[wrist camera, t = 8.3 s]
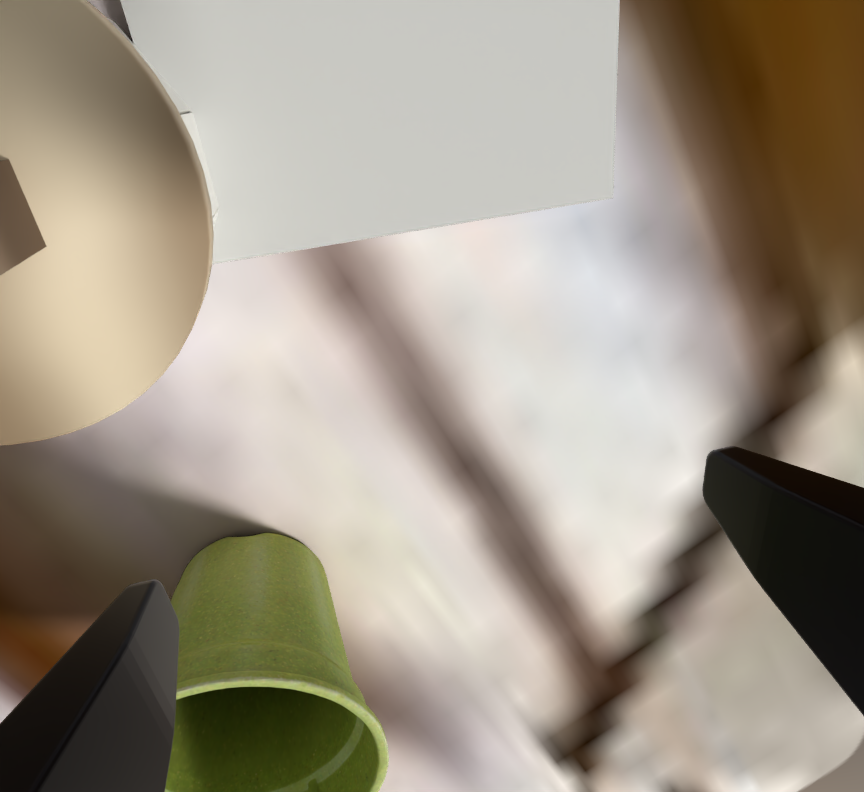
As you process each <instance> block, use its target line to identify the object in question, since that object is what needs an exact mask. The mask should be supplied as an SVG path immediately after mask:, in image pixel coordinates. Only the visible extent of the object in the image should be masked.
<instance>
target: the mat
mask: <svg viewBox="0 0 864 792" xmlns="http://www.w3.org/2000/svg"><path fill="white" fill-rule="evenodd" d="M120 1H121V4H122V8H123V11H124V14H125V17H126V21H127V24H128V27H129V30H130V34H131V37H132V40H133V43H134V45H135V46H136V48H137V49H138V50H139V51H140V52H141V53H142V54H143V56H144V57H145V58H146V59H147V60H148V61H149V62H150V64H151V65H152V66H153V67H154V68H155V69H156V70H157V71H158V73H159V74H160V75H161V76H162V77H163V78H164V79H165V81H166V82H167V83H168V84H169V85H170V86H171V87H172V89H173V90H174V91H175V92H176V93H177V94H178V95H179V97H180V98H181V99H182V100H183V101H184V102H185V103H186V105H187V106H188V107H189V108H190V109H191V110H190V111H189V112H188V113H192V112H193V116H194V119H195V123H196V127H197V130H198V134H199V137H200V141H201V144H202V148H203V152H204V155H205V159H206V162H207V166H208V169H209V173H210V177H211V180H212V184H213V187H214V191H215V194H216V198H217V202H218V205H219V207H218V209H219V210H218V214H217V218H216V221H215V225H214V229H213V231H214V240H213V260H212V264H218V263H224V262H231V261H237V260H243V259H249V258H255V257H261V256H267V255H273V254H279V253H285V252H291V251H297V250H303V249H309V248H315V247H321V246H327V245H333V244H339V243H345V242H351V241H357V240H363V239H369V238H375V237H382V236H388V235H394V234H400V233H406V232H412V231H418V230H424V229H430V228H436V227H442V226H448V225H454V224H460V223H466V222H472V221H478V220H484V219H490V218H496V217H502V216H508V215H514V214H520V213H526V212H533V211H539V210H545V209H551V208H557V207H563V206H569V205H575V204H581V203H587V202H593V201H599V200H605V199H611V198H613V186H614V156H615V125H616V94H617V64H618V33H619V3H620V0H120Z"/></svg>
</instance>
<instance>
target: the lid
mask: <svg viewBox="0 0 864 792" xmlns="http://www.w3.org/2000/svg"><path fill="white" fill-rule="evenodd" d="M213 240H214V231H213V220H212V208H211V201H210V197H209V192H208V188H207V183H206V178H205V174H204V171H203V168H202V165H201V162H200V159H199V157H198V154H197V151H196V148H195V145H194V142H193V140H192V138H191V136H190V134H189V132H188V130H187V128H186V125H185V123H184V121H183V119H182V117H181V115H180V113H179V111H178V109H177V107H176V106H175V104H174V103H173V101H172V99H171V98H170V96H169V95H168V93H167V91H166V90H165V88H164V87H163V85H162V84H161V82H160V80H159V79H158V77H157V76H156V74H155V73H154V72H153V71H152V69H151V68H150V67H149V65H148V64H147V63H146V62H145V60H144V59H143V58H142V57H141V55H140V54H139V53H138V52H137V50H136V49H135V48H134V47H133V45H132V44H131V43H130V42H129V41H128V40H127V39H126V38H125V37H124V36H123V35H122V34H121V33H120V32H119V31H118V29H117V28H116V27H115V26H114V25H113V24H112V23H111V22H110V21H109V20H108V19H107V18H106V17H105V16H104V15H103V14H102V13H101V12H100V11H99V10H97V9H96V8H95V7H94V6H93V5H91V4H90V3H89V2H88V1H87V0H0V445H13V444H20V443H27V442H34V441H41V440H45V439H49V438H53V437H57V436H61V435H65V434H69V433H72V432H74V431H77V430H79V429H82V428H85V427H87V426H90V425H92V424H95V423H97V422H99V421H101V420H103V419H105V418H107V417H109V416H110V415H112V414H114V413H116V412H118V411H120V410H121V409H123V408H124V407H126V406H127V405H128V404H130V403H131V402H132V401H134V400H135V399H137V398H138V397H139V396H141V395H142V394H143V393H145V392H146V391H147V390H148V389H149V388H150V387H151V386H152V385H153V384H154V383H155V382H156V381H157V380H158V379H159V378H160V377H161V376H162V375H163V374H164V372H165V371H166V370H167V368H168V367H169V366H170V364H171V363H172V362H173V360H174V359H175V358H176V357H177V355H178V354H179V352H180V350H181V348H182V347H183V345H184V343H185V341H186V339H187V337H188V336H189V334H190V332H191V330H192V328H193V325H194V323H195V321H196V318H197V316H198V313H199V311H200V308H201V305H202V302H203V299H204V297H205V294H206V291H207V287H208V282H209V277H210V272H211V267H212V260H213Z"/></svg>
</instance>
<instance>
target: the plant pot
mask: <svg viewBox="0 0 864 792" xmlns="http://www.w3.org/2000/svg"><path fill="white" fill-rule="evenodd" d="M170 602H171V604H172V606H173V608H174V610H175V613H176V615H177V618H178V622H179V652H178V672H177V693H176V713H175V727H174V736H173V743H172V750H171V757H170V763H169V769H168V775H167V781H166V787H165V792H378V791H379V790H380V788H381V786H382V784H383V782H384V779H385V777H386V773H387V768H388V761H389V754H388V745H387V741H386V737H385V734H384V731H383V728H382V726H381V724H380V722H379V720H378V719H377V717H376V716H375V714H374V713H373V712H372V711H371V710H370V709H369V707H368V706H367V705H366V704H365V700H364V698H363V696H362V694H361V692H360V690H359V688H358V687H357V685H356V684H355V682H354V681H353V680H352V676H351V672H350V669H349V665H348V661H347V657H346V653H345V649H344V645H343V641H342V637H341V633H340V629H339V625H338V622H337V618H336V613H335V609H334V605H333V601H332V597H331V593H330V589H329V585H328V581H327V577H326V574H325V571H324V568H323V566H322V564H321V562H320V560H319V559H318V558H317V556H316V555H315V554H314V553H313V552H312V551H311V550H310V549H308V548H307V547H306V546H305V545H303V544H302V543H300V542H298V541H296V540H294V539H291V538H289V537H286V536H283V535H279V534H273V533H262V534H259V535H254V536H247V537H226V538H223V539H221V540H218V541H216V542H214V543H212V544H210V545H209V546H207V547H205V548H204V549H203V550H201V551H200V552H199V553H198V554H197V555H196V556H194V558H193V559H192V560H191V561H190V562H189V564H188V565H187V567H186V569H185V570H184V572H183V574H182V577H181V579H180V581H179V583H178V585H177V587H176V589H175V592H174V594H173V596H172V599H171V601H170Z"/></svg>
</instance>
